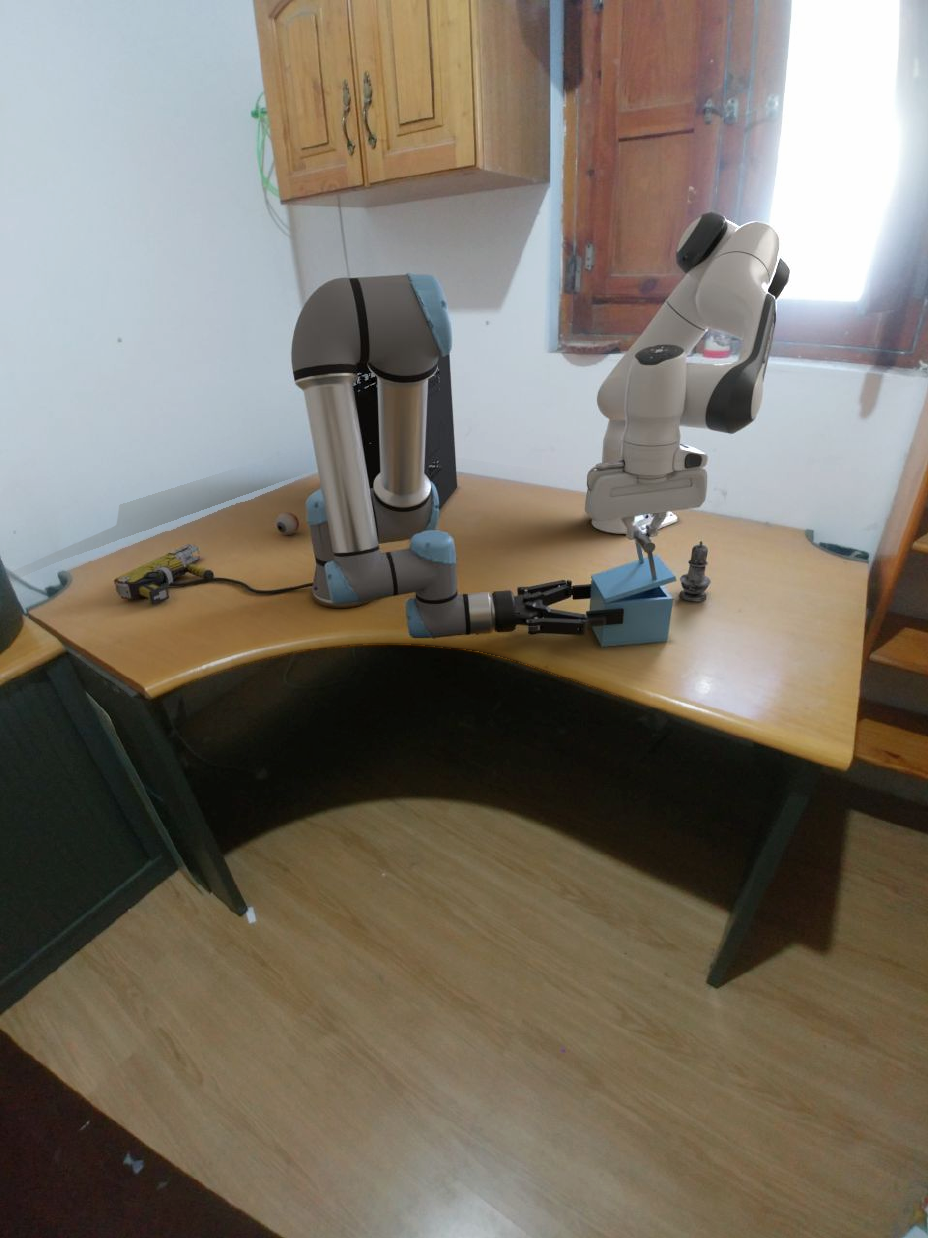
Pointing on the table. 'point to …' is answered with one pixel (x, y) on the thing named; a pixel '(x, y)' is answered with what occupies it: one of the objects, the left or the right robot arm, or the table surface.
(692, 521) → the table surface
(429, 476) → the dark boxy piece
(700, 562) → the dark grey turned figure
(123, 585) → the toy gun
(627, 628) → the chest
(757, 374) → the right robot arm
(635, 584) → the lid
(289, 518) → the eyeball
